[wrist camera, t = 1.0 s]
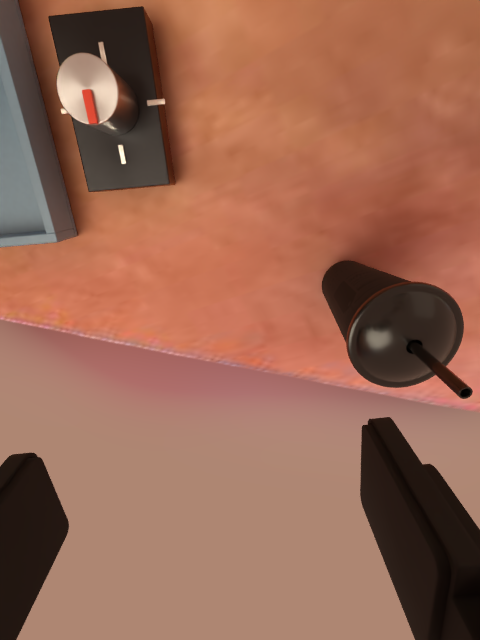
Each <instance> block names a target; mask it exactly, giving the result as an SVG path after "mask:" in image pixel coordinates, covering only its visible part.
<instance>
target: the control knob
mask: <svg viewBox="0 0 480 640" xmlns="http://www.w3.org/2000/svg"><path fill="white" fill-rule="evenodd" d="M56 85H57V92H58V96H59V99H60V101H61V103H62V105H63V107H64V108H65V110H66V111H67V112H68V113H69V114H70V115H71V116H72V117H73V118H74V119H76V120H77V121H79V122H81V123H83V124H86V125H88V126H91V127H93V128H95V129H98V130H100V131H103V132H105V133H108V134H111V135H122V134H125V133H127V132H128V131H130V130H131V129H132V128H133V126H134V125H135V123H136V121H137V118H138V113H139V106H138V101H137V98H136V95H135V93H134V91H133V90H132V88H131V87H130V86H129V85H128V84H127V83H126V82H125V81H124V80H123V79H122V78H121V77H120V76H119V75H118V74H117V73H116V72H115V71H114V70H113V69H112V68H110V67H109V66H108V65H107V64H106V63H105V62H104V61H103V60H102V59H100V58H99V57H97V56H95V55H93V54H89V53H76V54H73V55H71V56H69V57H68V58H67V59H66V60H65V61H64V62H63V63H62V64H61V66H60V68H59V70H58V74H57V81H56Z"/></svg>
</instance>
